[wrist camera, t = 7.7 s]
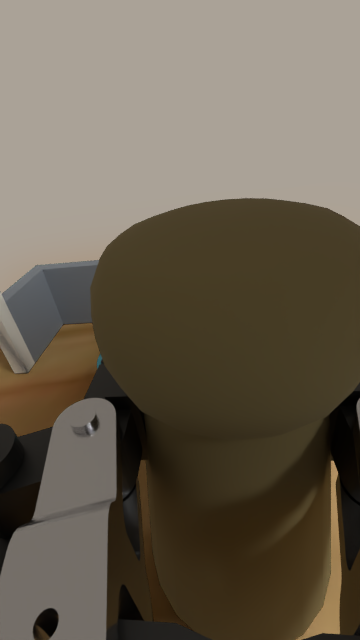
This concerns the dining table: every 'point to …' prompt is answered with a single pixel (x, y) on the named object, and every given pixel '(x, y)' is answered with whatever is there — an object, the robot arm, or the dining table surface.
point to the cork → (236, 399)
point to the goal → (43, 309)
